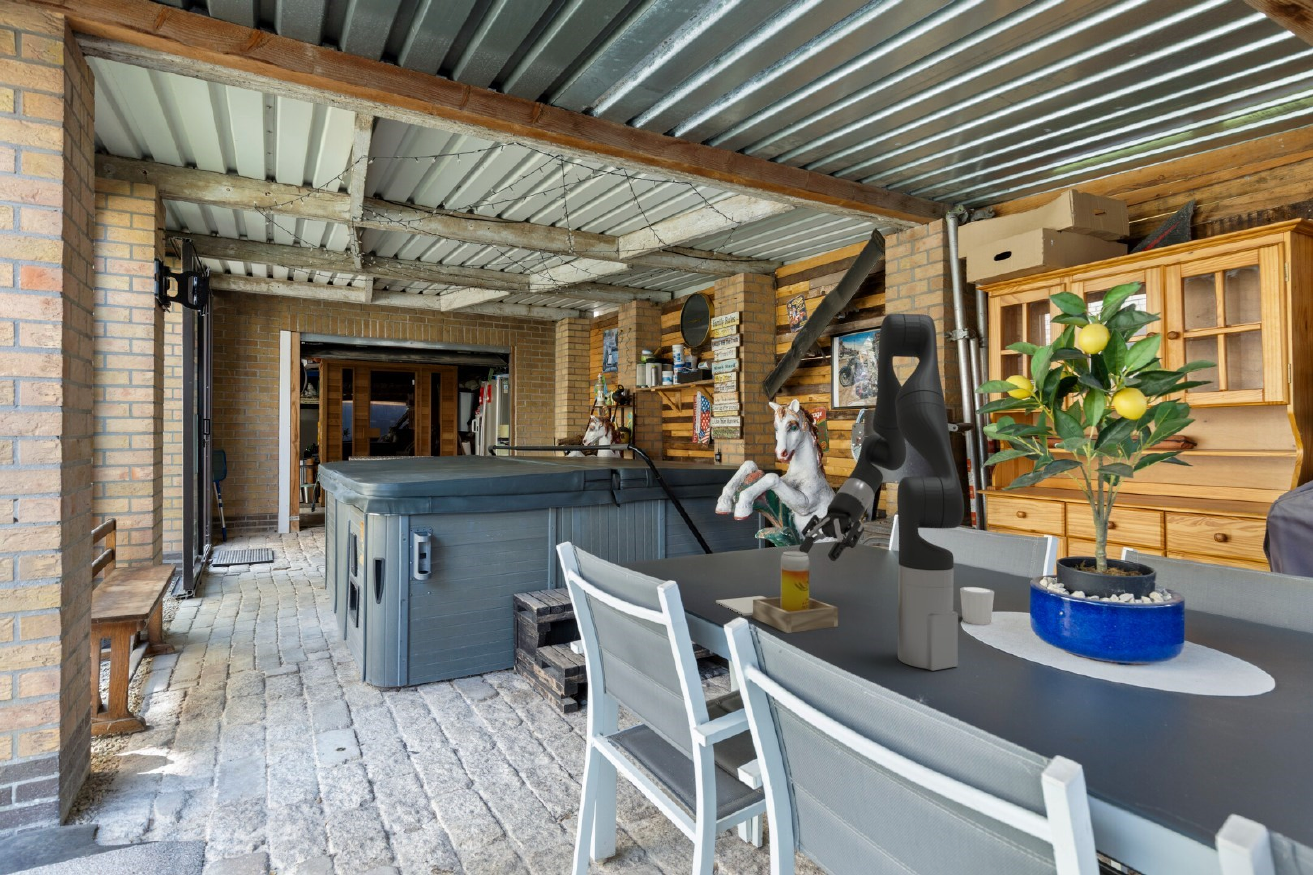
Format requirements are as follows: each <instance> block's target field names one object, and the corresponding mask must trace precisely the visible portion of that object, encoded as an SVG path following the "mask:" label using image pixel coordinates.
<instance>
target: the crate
mask: <svg viewBox="0 0 1313 875" xmlns="http://www.w3.org/2000/svg"><path fill="white" fill-rule="evenodd" d="M780 598H781V596H778V597H777V596H776V597H775V596H774V597H766V598H765V599H755V600H753V615H752V618H753V619H755V620H757V621H759V622H762V623H764V624H766V625H768V626H770V627H773V628H775V629H778V630H779V631H782V632H784V633H786V634H791V633H798V632H806V631H807V632H808V631H812V630H813V631H814V630H820V629H829V628H836V627H838V626H839V607H838V606H835V605H831V604H828V603H825V602H823V601H820V600H818V599H814V598H812V597H809V610H802V611H793V612H787V611H785V610H782V609H780Z"/></svg>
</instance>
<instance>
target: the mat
mask: <svg viewBox="0 0 1313 875" xmlns="http://www.w3.org/2000/svg"><path fill="white" fill-rule="evenodd" d="M765 598H767V597H765V596H763V595H757V596H747V597H746V596H745V597H738V598H737V597H736V598H729V599H717V600H715V604H716V605H719V604H720V605H719V606H721V605H722V606H721V607H724V608H726V609H728V608H729V609H728V610H730V609H731V610H730V611H732V610H733V611H732V612H735V613H737V612H738V613H737V614H739V615H741V614H742V615H741V616H742V617H743V616H744V617H746V616H753V600H755V599H765Z"/></svg>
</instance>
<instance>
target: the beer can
mask: <svg viewBox="0 0 1313 875" xmlns="http://www.w3.org/2000/svg"><path fill="white" fill-rule="evenodd" d="M780 597H781V598H780V609H782V610H785V611H787V612H793V611H802V610H809V598H810V558H809V556H808V553H804V552H800V551H794V550H791V551H789V550H788V551H783V552H782V554H781V556H780Z"/></svg>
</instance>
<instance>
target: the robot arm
mask: <svg viewBox="0 0 1313 875" xmlns="http://www.w3.org/2000/svg"><path fill="white" fill-rule="evenodd" d="M878 338H879V339H878V356H877V388H876V390H877V391H876V402H875V409H874V413H873V419H872V429H873V431H874V432H875V434H870V435H868V436H866V438H865V439H863V441H862V444H861V445H860V446H861V447H860V451H859V455H858V458H857V461H856V464H855V467H854V468H853V470H852V472H851V473H850V474H849V476H848V478H847V479H846V480H845V482H844V483H842V485H841V486H840V488H839V489H838V491H837V492H836V493H835V496H834V497H833V498H832V500H831V501H830V503H829V505H828V506H827V507H826V508H827V511H826V514H825V516H823V517H819V516H818V515H817V514H813V515H812V516H811V517H810V519H809V521H808V522H807V523H806V525H805V526H804V527H803V529H802V530H801V532H800V533H801V535H802V536H803V537H804V539H803V541H802V543H801V544H800V546H799V547H798V548H799V552H804V553H807V554H809V551H810V550H811V549H812V547H813V546H814V543H815V542H817V541H821V540H824V539H826V538H833V539H835V540H837V542H836V541H835V542H834V544H833V546H832V548H831V549H830V550H829V552H828V553H827V557H828V558H829V560H831V561H832V562H836V560H838V559H839V558H840V556H841V554H842V553H843V552H844V550H845V549H847V548H851V549H854V548H855V547H856V546H857V544H858V542H859V540H860V538H861V536H862V534H863V533H864V531H865V527H864V525H863V524H862V523H861V521H860V520H861V518H862V517H863V516H864V513H865V512H866V510H867V509H868V508H869V506H870V504H871V502H872V499H873V498H874V496H875V494H876V493H877V491H878V489H879V488H880V486H881V485H882V482H883V480H884V475H883V473H882V471H881V470H880V469H879V468H878V467H880V468H883V469H885V470H888V471H893V472H894V471H897V470H900V468H902V466H903V465H904V464H905V462H906V458H907V447H906V446H907V445H906V444H907V443H906V442H908V444H909V445H911V447H912V448H913V449H914V450H915V451H916V452H917V453H918V454H919V455H920V456H921V457H922V458H923V459H924V460H925V462H926V463H927V464H928V465H929V467H930V469H931V471H932V473H933V476H905V477H902V478H901V480H899V484H898V486H897V494H896V495H897V496H896V500H897V501H896V506H897V520H898V521H897V522H898V577H897V578H898V584H897V586H898V588H897V590H898V593H897V595H898V596H897V597H898V598H897V599H898V600H897V601H898V602H897V603H898V604H897V611H898V612H897V659H898V660H899V661H900V662H901V663H903V664H906V665H908V666H911V667H915V668H920V669H925V670H929V671H937V670H938V671H939V670H944V669H949V668H950V669H951V668H955V667H958V665H959V663H958V660H959V659H958V655H959V654H958V653H959V652H958V650H959V649H958V648H959V646H958V644H959V642H958V641H959V637H958V633H959V613H958V612H957V611H954V564H955V562H954V554H953V552H952V551H951V550H949V549H947V548H945V547H942V546H939V545H937V544H933V543H931V542H929V541H927V540H926V539H924V538H923V537H922V536H921V535H920V532H919V529H945V530H946V529H956V528H958V527H960V526H961V524H962V523H963V520H964V517H965V516H964V514H965V503H964V502H965V501H964V495H963V490H962V486H961V480H960V477H959V473H958V470H957V465H956V462H955V459H954V454H953V450H952V449H953V448H952V444H951V438H950V437H951V436H950V429H949V422H948V414H947V413H948V412H947V406H946V400H945V396H944V392H943V387H942V380H941V376H940V368H939V355H938V342H937V341H938V340H937V338H938V337H937V329H936V325H935V321H934V318H932V316H930V315H929V314H928V315H927V314H922V313H920V314H919V313H889V314H887V315H885V317H884V318H883V320H882V322H881V325H880V331H879V337H878ZM894 357H899V358H901V357H902V358H916V359H918V363H917V366H916V367H915V368H914V370H913V372H912V373H911V374H910V375H909V377H908V378H907V379H906V380H905V381H904V383H903V384H902V385H901V382H900V381H899V379H898V377H897V375H896V372H895V369H894V363H893V362H894ZM820 530H821V532H820ZM814 535H815V536H814Z"/></svg>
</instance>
